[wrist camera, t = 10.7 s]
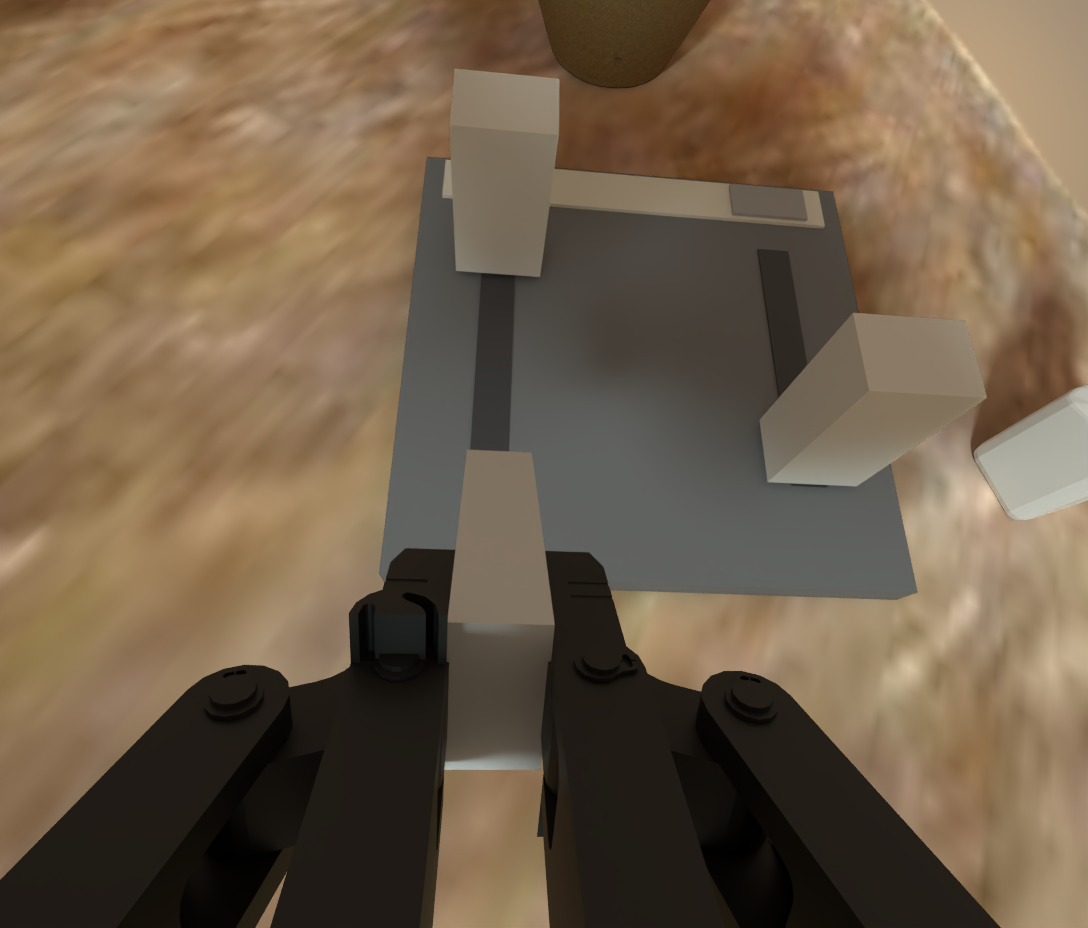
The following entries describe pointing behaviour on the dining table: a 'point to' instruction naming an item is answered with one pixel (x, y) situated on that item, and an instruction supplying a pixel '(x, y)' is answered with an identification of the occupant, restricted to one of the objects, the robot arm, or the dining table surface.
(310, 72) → the dining table surface
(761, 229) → the switch panel
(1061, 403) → the pepper shaker
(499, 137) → the tab
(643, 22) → the plant pot
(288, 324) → the dining table surface
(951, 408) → the tab
